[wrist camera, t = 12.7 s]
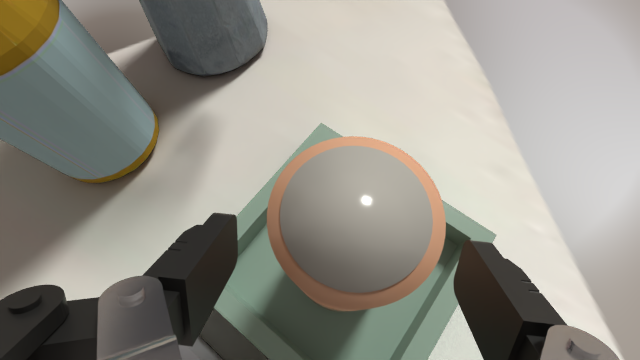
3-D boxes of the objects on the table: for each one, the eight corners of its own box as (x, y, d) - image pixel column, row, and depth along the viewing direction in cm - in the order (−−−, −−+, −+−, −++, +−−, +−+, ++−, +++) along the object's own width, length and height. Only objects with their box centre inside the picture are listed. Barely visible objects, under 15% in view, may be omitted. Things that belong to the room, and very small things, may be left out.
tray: (366, 435, 16) (373, 456, 13) (199, 282, 19) (181, 277, 16) (476, 244, 19) (496, 235, 17) (321, 142, 22) (321, 122, 20)
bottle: (168, 170, 22) (-105, -84, 8) (63, 199, 21) (-442, -26, 7) (158, 93, 24) (-59, -198, 11) (64, 116, 24) (-300, -164, 10)
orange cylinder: (351, 333, 17) (382, 356, 8) (278, 272, 18) (228, 228, 9) (402, 255, 18) (479, 195, 9) (331, 204, 20) (336, 108, 10)
